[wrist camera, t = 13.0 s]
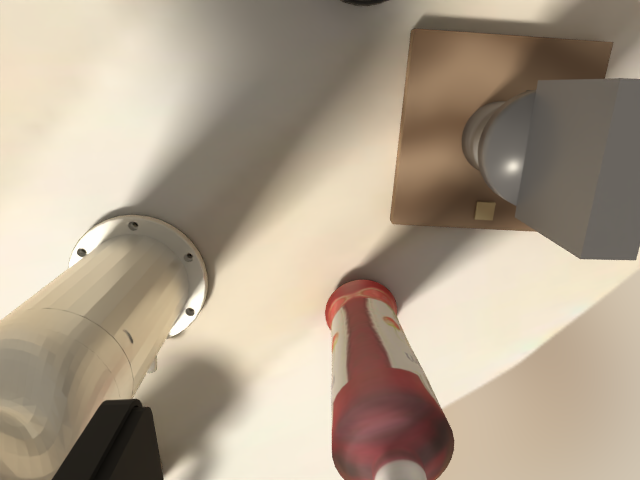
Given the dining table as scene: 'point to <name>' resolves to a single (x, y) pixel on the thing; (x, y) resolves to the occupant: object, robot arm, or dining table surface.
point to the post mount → (470, 118)
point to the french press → (364, 2)
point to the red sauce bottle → (381, 393)
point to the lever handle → (570, 163)
